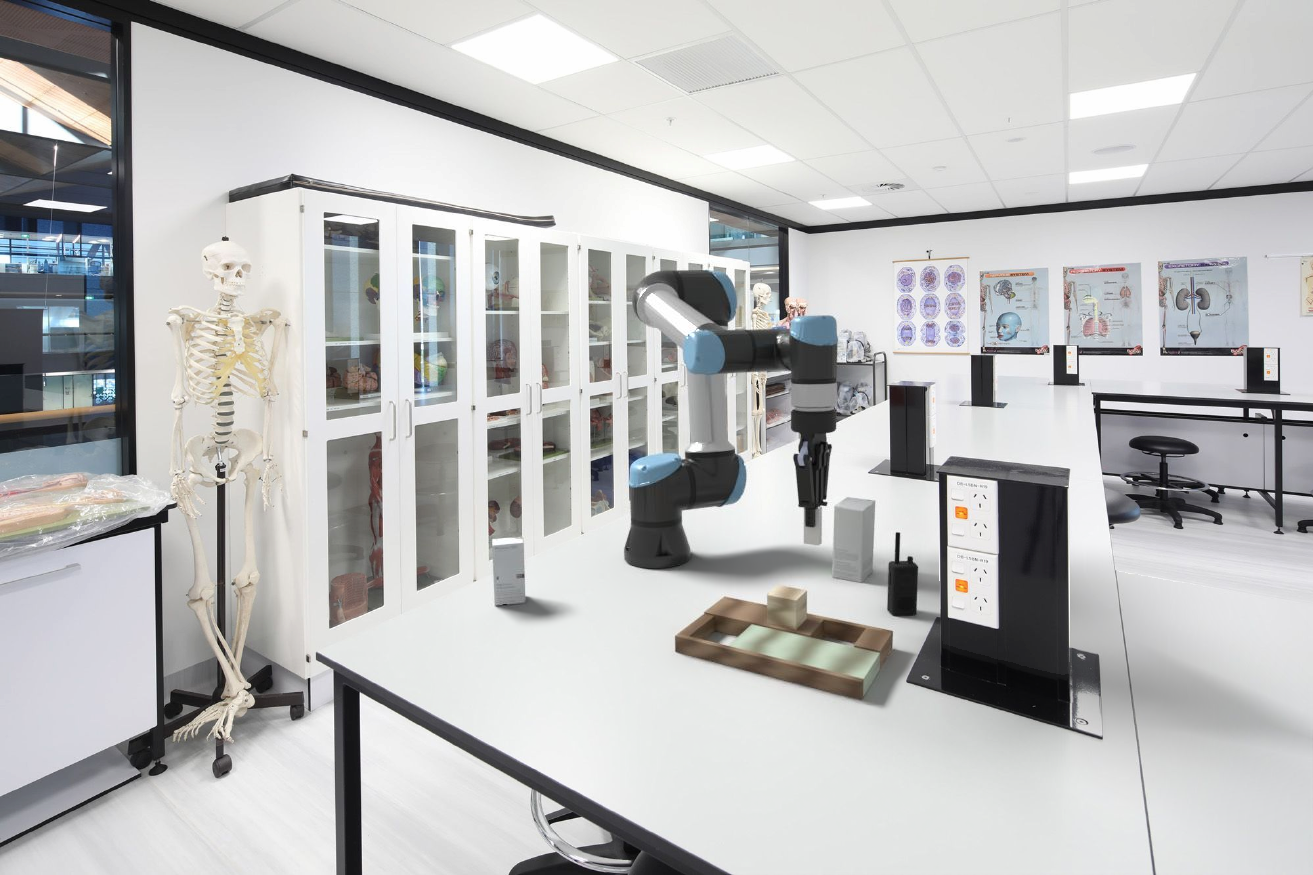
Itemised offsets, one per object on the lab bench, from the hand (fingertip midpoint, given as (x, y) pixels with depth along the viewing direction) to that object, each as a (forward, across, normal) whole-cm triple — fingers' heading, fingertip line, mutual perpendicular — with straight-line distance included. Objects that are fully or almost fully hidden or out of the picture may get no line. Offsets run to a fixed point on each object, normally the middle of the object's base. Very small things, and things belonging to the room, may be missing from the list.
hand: (812, 543), depth 120 cm
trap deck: (+14, +13, 0) cm, 19 cm away
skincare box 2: (+14, -26, 0) cm, 30 cm away
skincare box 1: (+14, +19, -54) cm, 59 cm away
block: (+11, +8, -1) cm, 14 cm away
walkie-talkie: (+15, -11, +13) cm, 22 cm away
